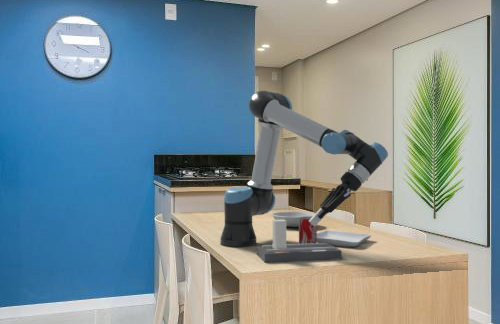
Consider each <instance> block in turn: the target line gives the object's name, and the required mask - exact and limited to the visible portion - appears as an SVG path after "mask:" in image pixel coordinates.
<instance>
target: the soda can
mask: <svg viewBox="0 0 500 324" xmlns="http://www.w3.org/2000/svg"><path fill="white" fill-rule="evenodd" d="M311 218H312V217H308V216H306V217H301V219H300V221H299V227H298V244H309V243H316V242H317V232H318V230H317V228H318V227H317V226H318V224H317V225H316V226H313V225H312V224H311V223H310V222H309V220H310V219H311Z"/></svg>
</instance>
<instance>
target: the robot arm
mask: <svg viewBox="0 0 500 324" xmlns="http://www.w3.org/2000/svg"><path fill="white" fill-rule="evenodd" d="M248 108H249V109H248V110H249V111H250V113H251V115H253V116H254V117H255V118H258V119H257V123H258V124H259V126H260V128H259V129H260V130H259V134H258V141H257V144H256V145H257V146H256V151H255V158H254V163H253V168H252V174H251V179H250V180H249V181H248V182H246V186H236V187H235V186H234V187H230V188H228V189H226V190H225V192H224V198H223V200H224V201H223V202H224V205H223V207H224V226H223V229H222V233H221V235H220V245H222V246H226V247H235V248H236V247H238V248H239V247H251V246H255V245H257V243H258V241H257V235H256V233H255V229H254V225H253V216H254V217H255V216H263V215H265V214H268V213H269V212H271V211H272V210H273V208H274V207H275V204H276V196H275V194H274V191H273V190H274V187H273V185H272V183H271V182H272V176H273V171H274V166H275V165H274V164H275V161H276V160H275V159H276V156H277V155H276V154H277V149H278V144H279V139H280V134H281V133H280V132H281V129H285V130H287V131H289V132H291V133H293V134H295V135H297V136H298V137H301V138H303V139H304V140H307V141H308V142H311V143H313V144H315V145H317V146H318V147H320V148H322V150H323V151H324V152H325V153H328V154H330V155H347V156H349V157H351V158H353V159H354V160H355V162H353V164H351V166H350V167H349V168H348V169H347V171H345V172H344V173H343V174H342V176H341V177H340V181H341V183H340V184H338V185H337V186H336V187H333V188H332V189H331V190H330V192H329V193H328V195H327V196H326V197H325V199H324V200H322V202H321V203H320V205H319V207H320V208H319V209H318V210H317V211H316V212H315V215H314V216H313V217H312V218H311V219H310V220H309V222H310V223H311V224H312V225H313V226H316V225H317V226H318V224H319V223H320V222H321V221H322V220H323V218H325V217H326V215H328V214H329V213H332V212H334V211H335V209H337V208H338V207H339V206H340V205H341V204H342V203H343V202H344V201H346V200H347V199H349V197H351V195H352V193H351V192H357V191H358V190H359V188H361V187H362V184H364V183H365V182H366V181H368V180H369V178H370V177H371V176H372V174H373V173H374V172H375V171H376V170H378V168H379V167H380V166H381V165H382V164H383V163H384V162H385V160H386V159H387V158H388V156H389V153H388V150H387V149H386V148H385V147H384V145H382V144H381V143H379V142H376V141H375V142H373V143H371V144H369V143H367V142H366V141H364V140H362V139H361V138H360V137H358V136H357V135H356V134H354V133H353V132H351V131H349V130H348V129H342V130H341V131H339V132H338V131H336V130H333V129H331V128H329V127H327V126H325V125H323V124H321V123H319V122H317V121H315V120H314V119H313V120H312V119H311V118H309V117H307V116H305V115H302V114H300V113H298V112H297V111H294V110H293V105H292V102H291V100H290V99H289V97H288V96H286V95H284V94H282V93H279V92H277V93H276V92H272V91H267V90H259V91H257V92H255V93H253V94H252V95H251V97H250V99H249V102H248Z"/></svg>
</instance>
